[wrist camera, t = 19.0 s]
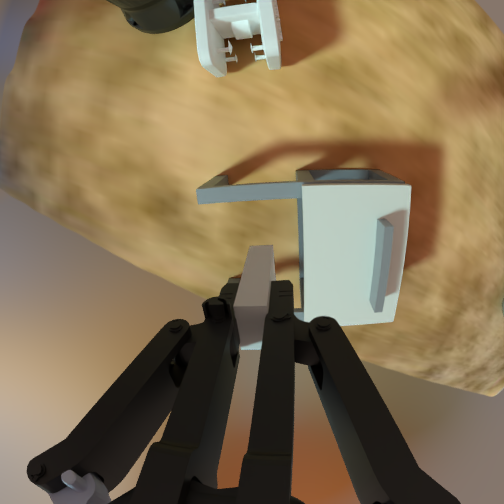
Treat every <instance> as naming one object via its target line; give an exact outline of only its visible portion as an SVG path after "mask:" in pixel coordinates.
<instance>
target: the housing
mask: <svg viewBox="0 0 504 504" xmlns="http://www.w3.org/2000/svg"><path fill="white" fill-rule="evenodd" d="M324 183H397V184H405V182H404V181H402V180H400V179H398V178H396V177H394V176H392V175H390V174H388V173H385V172H383V171H381V170H368V169H332V170H296V181H284V182H265V183H250V184H236V185H229V183H228V175H221V176H215V177H214V178H212V179H211V180H209V181H208V182H206V183H205V184H203V185H202V186H200V187H199V188H197V189H196V193H197V200H198V204H209V203H221V202H235V201H251V200H268V199H289V198H297V205H298V231H299V271H300V298H301V308H295V309H294V315H295V316H296V317H297V318H298V319H300V320H302V321H304V240H303V207H302V184H324ZM228 283H240V278H229V280H228Z"/></svg>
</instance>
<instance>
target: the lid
mask: <svg viewBox="0 0 504 504" xmlns="http://www.w3.org/2000/svg"><path fill="white" fill-rule="evenodd" d="M410 201H411V185H409V184H397V183H324V184H302V207H303V240H304V321H305V322H310V321H311V320H312V319H314V318H316V317H319V316H329V317H332V318H334V319H335V320H336V321H337V322H338V323H339V325H340V326H347V325H361V324H373V323H384V322H393V320H394V316H395V311H396V306H397V301H398V296H399V291H400V285H401V279H402V273H403V267H404V260H405V253H406V245H407V236H408V226H409V215H410Z"/></svg>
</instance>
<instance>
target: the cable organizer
mask: <svg viewBox="0 0 504 504" xmlns="http://www.w3.org/2000/svg"><path fill="white" fill-rule="evenodd" d="M245 1H246V0H245ZM256 1H257V3H247V4H240V5H233V6H227V7H221V8H220V7H219V4H221V3H224V4H225V0H194V14H195V27H196V39H197V50H198V56H199V60H200V63H201V65H202V67H203V68H205V69H206V70H208V71H209V72H210V73H212V74H213V75H214V76H216V77H223V76H226V74H227V64H226V62H230V61H236V62H238V60H237V56H236V54H235V57H229V58H226V54H225V52H230V55H231V52H232V45H231V43H230V42H229V40H228V43H229V46H228V47H226V48H225V45H224V39H226V38H232V37H235V38H236V39H237V40H239V39H246V38H253V35H256V34H261V37H262V44H263V45H259V46H252V45H251V51H252V54H253V51H256V50H264V53H265V55H257V56H256V55H255V60H256V61H257V60H259V59H266V61H267V64H268V68H269V69H270V70H275V69H281V48H280V41H283V38H282V32H281V25H280V18H279V12H278V6H277V0H256ZM246 2H247V1H246ZM225 6H226V5H225Z"/></svg>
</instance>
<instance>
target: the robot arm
mask: <svg viewBox="0 0 504 504" xmlns="http://www.w3.org/2000/svg"><path fill="white" fill-rule="evenodd" d="M107 1H108V2H110V3H112V4H114V5H116V6H118V7H120V8H121V10H122V12H123V14H124V16H125V18H126V20H127V21H128V23H129V24H130V25H131V26H133V27H134V28H136V29H138V30H140V31H142V32H145V33H150V34H159V33H165V32H168V31H171V30H174V29H176V28H178V27H180V26H182V25H184V24H185V23H187V22H188V21H190V20H191V19H192V18H193V17H194V16H195V14H194V0H107ZM202 307H203V311H204V315H205V321H204V322H203V323H200V324H196V325H191V326H189V323H188V322H187V321H186V320H183V319H176V320H172V321H170V322H168V323H167V324H166V325H164V327H163V328H162V329H161V330H160V331H159V332H158V333H157V334H156V336H155V337H154V338H153V339H152V340H151V341H150V342H149V343H148V345H147V346H146V347H145V348H144V349H143V350H142V351H141V353H140V354H139V355H138V356H137V357H136V358H135V359H134V360H133V361H132V363H131V364H130V365H129V366H128V367H127V368H126V369H125V371H124V372H123V373H122V374H121V375H120V376H119V377H118V379H117V380H116V381H115V382H114V383H113V384H112V385H111V387H110V388H109V389H108V390H107V391H106V392H105V393H104V395H103V396H102V397H101V398H100V399H99V400H98V402H97V403H96V404H95V405H94V406H93V407H92V408H91V410H90V411H89V412H88V413H87V414H86V416H85V417H84V418H83V419H82V420H81V421H80V422H79V424H78V425H77V426H76V427H75V429H73V431H72V432H71V433H70V434H69V436H68V437H67V438H66V439H65V440H63V441H61V442H60V443H58V444H57V445H55V446H53V447H52V448H50V449H48V450H47V451H45V452H43V453H41V454H40V455H38V456H36V457H35V458H33V459H32V460H31V461H30V462H29V464H28V466H27V475H28V478H29V479H30V481H31V482H33V483H34V484H35V485H37V486H38V487H40V488H41V489H43V490H45V491H46V492H47V493H48V494H49V496H50V498H51V500H52V501H53V503H54V504H305V503H304V502H302V501H300V500H299V499H297V498H295V497H293V496H291V484H292V464H293V437H294V393H295V390H294V389H295V362H296V363H300V364H305V365H308V368H309V371H310V373H311V376H312V379H313V381H314V384H315V386H316V389H317V392H318V394H319V397H320V400H321V402H322V405H323V407H324V410H325V412H326V415H327V418H328V420H329V423H330V425H331V428H332V431H333V434H334V436H335V438H336V441H337V444H338V447H339V449H340V452H341V455H342V457H343V460H344V462H345V465H346V468H347V471H348V473H349V476H350V479H351V481H352V484H353V487H354V489H355V492H356V494H357V497H358V499H359V501H360V503H361V504H461V503H460V502H459V501H458V499H457V498H456V497H454V496H453V495H452V494H451V493H449V492H448V491H447V490H445V489H444V488H443V487H442V486H441V485H440V484H438V483H437V482H436V481H435V480H433V479H432V478H431V477H430V476H429V475H427V474H426V473H425V472H424V471H422V470H421V469H420V468H419V467H418V465H417V463H416V461H415V459H414V457H413V455H412V453H411V451H410V449H409V447H408V445H407V443H406V442H405V439H404V438H403V436H402V434H401V432H400V430H399V428H398V426H397V425H396V423H395V421H394V419H393V418H392V415H391V414H390V412H389V410H388V408H387V406H386V404H385V403H384V401H383V399H382V397H381V396H380V394H379V392H378V390H377V389H376V387H375V385H374V383H373V381H372V380H371V378H370V376H369V374H368V373H367V371H366V369H365V367H364V366H363V364H362V362H361V360H360V359H359V357H358V355H357V354H356V352H355V350H354V349H353V347H352V345H351V343H350V342H349V340H348V338H347V337H346V335H345V333H344V332H343V330H342V328H341V327H340V325H339V323H338V322H337V321H336V320H335V319H334V318H332V317H329V316H319V317H316V318H314V319H312V320H311V321H310V322H305V321H302V320H300V319H298V318H297V317H296V316H295V315H294V298H293V284H292V283H291V282H290V281H289V280H282V281H276V276H275V263H274V251H273V245H260V246H250V247H249V251H248V254H247V258H246V262H245V265H244V269H243V273H242V276H241V280H240V283H227V284H226V285H225V286H224V287H223V288H222V289H221V292H220V295H219V297H212V298H209V299H207V300H206V301H205V302H203V304H202ZM239 344H240V346H241V349H242V350H261V355H260V363H259V370H258V379H257V386H256V393H255V401H254V408H253V415H252V424H251V430H250V437H249V444H248V450H247V453H246V454H245V455H244V458H243V462H242V467H241V474H240V479H239V486H238V487H235V488H225V489H217V469H218V464H219V459H220V454H221V450H222V444H223V439H224V435H225V429H226V425H227V419H228V414H229V409H230V404H231V399H232V394H233V389H234V383H235V379H236V374H237V368H238V363H239V358H240V355H239ZM173 359H174V360H173ZM170 411H171V413H170ZM169 413H170V416H169V419H168V422H167V425H166V427H165V430H164V433H163V436H162V438H161V440H160V441H159V442H155V443H153V444H152V445H151V446H150V448H149V451H148V453H147V456H146V459H145V461H144V464H143V467H142V470H141V473H140V475H139V478H138V481H137V484H136V487H134V488H133V489H131V490H130V491H128V492H126V493H125V494H123V495H122V496H120V497H118V498H116V499H115V500H113V501H111V499H110V497H109V494H108V493H109V492H110V491H111V490H113V489H114V488H115V487H116V486H117V485H118V484H119V483H120V482H121V481H122V480H123V479H124V477H125V476H126V475H127V474H128V472H129V471H130V469H131V468H132V466H133V465H134V464H135V462H136V461H137V459H138V458H139V457H140V455H141V453H142V452H143V451H144V449H145V448H146V447H147V445H148V444H149V442H150V441H151V439H152V438H153V436H154V435H155V433H156V432H157V430H158V429H159V428H160V426H161V425H162V423H163V422H164V420H165V419H166V417H167V416H168V414H169Z"/></svg>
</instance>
